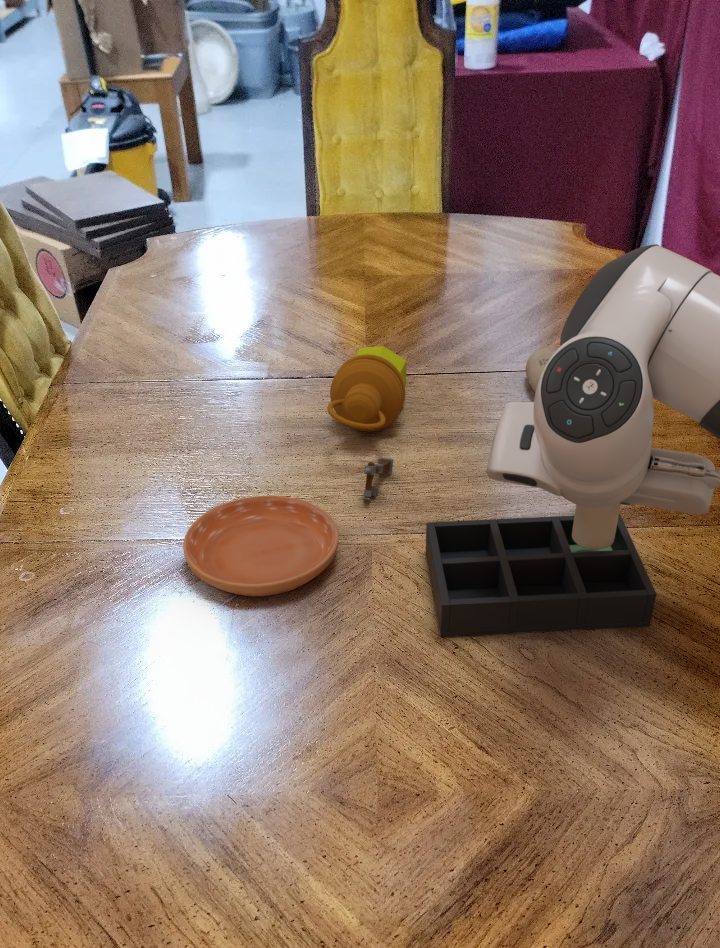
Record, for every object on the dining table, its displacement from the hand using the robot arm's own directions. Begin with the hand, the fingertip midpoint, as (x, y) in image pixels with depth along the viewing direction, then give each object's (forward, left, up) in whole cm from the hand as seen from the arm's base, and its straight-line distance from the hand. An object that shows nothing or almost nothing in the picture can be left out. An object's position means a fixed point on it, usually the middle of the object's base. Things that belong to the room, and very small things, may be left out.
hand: (600, 492), depth 96 cm
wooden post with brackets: (+21, -16, -9) cm, 28 cm away
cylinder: (0, +1, -5) cm, 5 cm away
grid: (+7, +4, -8) cm, 11 cm away
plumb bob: (+21, -32, -9) cm, 39 cm away
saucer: (+34, -3, -9) cm, 35 cm away
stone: (-3, -37, -9) cm, 38 cm away
